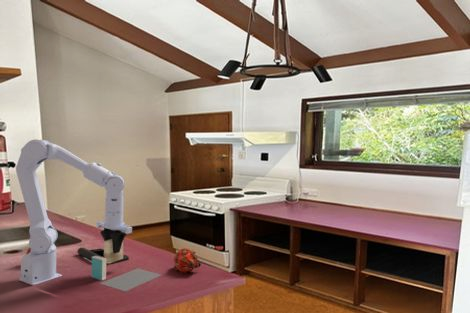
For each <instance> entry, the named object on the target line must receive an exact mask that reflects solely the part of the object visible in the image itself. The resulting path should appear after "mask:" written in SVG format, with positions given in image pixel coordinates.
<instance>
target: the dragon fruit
mask: <svg viewBox="0 0 470 313" xmlns="http://www.w3.org/2000/svg"><path fill="white" fill-rule="evenodd" d="M198 259H199V257H198V256H197V255H196V252H195V250H191V249H190V248H188V247H185V248H181V249H180V250H178V251H177V252H176V254H175V255H174V258H173V262H174V270H175V271H179V272H180V273H181V274H182V273H184V274H185V275H188V274H187V273H188V272H189V273H190V272H191V273H193V272H195V271H196V269H198V268H200V267H201V265H202V263H201V262H199V260H198Z"/></svg>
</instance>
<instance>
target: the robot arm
mask: <svg viewBox="0 0 470 313" xmlns="http://www.w3.org/2000/svg"><path fill="white" fill-rule="evenodd" d="M46 160H60V161H61V162H63V163H66V164H68V165H69V166H71V167H73V168H75V169H77V170H78V171H81V172H82V175H83V176H84V178H85V179H86V180H88V181H91V182H93V183H94V184H96V185H98V186H99V187H101V188H102V187H103V188H104V189H105V191H106V196H105V198H104V199H105V202H104V203H105V207H104V208H105V210H104V221H103V220H101V221H97V222H96V229H97V228H98V229H103V230H100V235H101V236H102V239H103V242H104V241H107V240H110V239H112V242H113V253H118V252H120V248H121V245H122V242H123V243H124V240H125V238H126V236H127V235H128V234H132V233H133V227H132V226H129V225H128V224H126V223H125V222H124V201H125V200H124V187H125V180H124V178H123V177H122V176H120V174H117V173H115V171H113V170H111V171H110V170H108V169H107V168H105V167H103V166H102V165H103V164H102V163H100V162H90V163H89V162H86V161H85V160H84V159H81V158H80V157H79V156H78V155H75V154H73V153H72V152H70V150H67V149H66V148H64V147H63V146H60V145H58V144H57V143H56V144H55V143H53V142H52V143H51V141H49V140H46V139H31V140H29V141H27V143H25V144H24V145H23V147H21V149H20V155H19V157H18V160H17V163H16V167H15V171H16V175H17V176H16V177H17V179H18V183H19V186H20V190H21V194H22V197H23V203H24V206H25V209H26V213H27V217H28V221H29V230H28V233H29V239H28V240H29V241H28V246H29V248H31V252H30V253H29V254H27V255H26V254H25V255H23V256H22V258H21V259H20V278H19V281H20V282H23V283H25V284H28V285H33V286H35V285H38V284H41V283H44V282H47V281H50V280H54V279H55V278H59V277H62V276H63V274H61V273H58V272H57V246H56V245H55V243H56V241H57V240H58V231H57V229H56V228H54V226H53V224H52V221H51V220H50V219H49V217H48V213H47V209H46V206H45V202H44V199H43V194H42V190H41V187H40V182H39V179H38V175H37V169H39V167H40V165H42V163H43V162H44V161H46Z"/></svg>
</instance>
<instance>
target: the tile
mask: <svg viewBox="0 0 470 313" xmlns="http://www.w3.org/2000/svg"><path fill="white" fill-rule="evenodd" d="M103 257H104V256H102V257H99V256H93V257H92V262H91V278H93V279H96V280H100V281H103V280H106V279H107V265H106V258H103Z"/></svg>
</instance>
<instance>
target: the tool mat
mask: <svg viewBox="0 0 470 313" xmlns="http://www.w3.org/2000/svg"><path fill="white" fill-rule="evenodd" d="M159 277H162V274H160V273H157V272H152V271H149V270H145V269H141V268H135V269H133V270H130V271H128V272H125V273H122V274H120V275H116V276H114V277H112V278H109V279H107V280H105V281H103V282H99V284H100V285H103V286H107V287H109V288H112V289H116V290H119V291H123V292H124V293H125V292H128V291H130V290H132V289H134V288H137V287H138V286H141V285H143V284H145V283H148V282H150V281H153V280H154V279H156V278H159Z"/></svg>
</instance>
